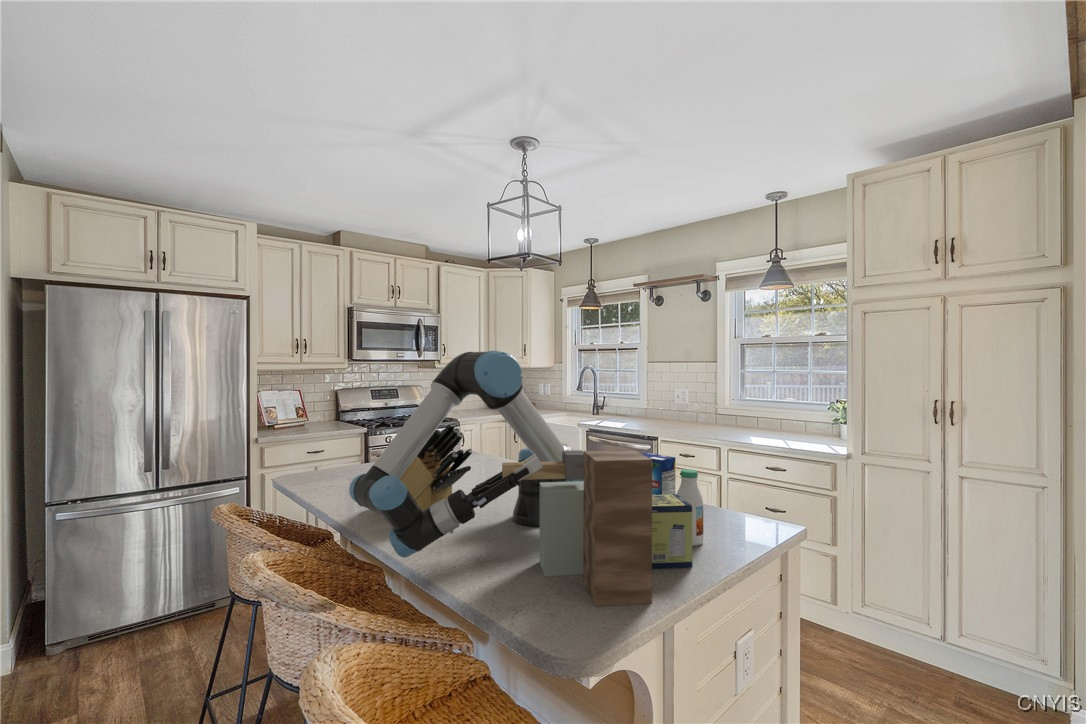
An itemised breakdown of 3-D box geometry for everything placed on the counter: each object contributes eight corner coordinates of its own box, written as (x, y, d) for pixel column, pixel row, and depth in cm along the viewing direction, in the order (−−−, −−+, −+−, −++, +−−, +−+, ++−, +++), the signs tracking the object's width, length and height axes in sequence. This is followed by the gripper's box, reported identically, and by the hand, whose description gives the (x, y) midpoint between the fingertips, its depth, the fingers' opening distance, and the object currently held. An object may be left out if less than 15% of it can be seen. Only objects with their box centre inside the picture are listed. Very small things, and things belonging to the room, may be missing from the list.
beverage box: (661, 536, 148) (661, 460, 148) (632, 526, 157) (632, 454, 157) (675, 531, 153) (675, 457, 153) (646, 522, 161) (646, 452, 161)
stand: (583, 581, 117) (583, 451, 117) (634, 579, 119) (634, 449, 119) (595, 606, 105) (596, 461, 105) (651, 603, 107) (652, 459, 107)
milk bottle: (688, 548, 139) (688, 474, 139) (669, 539, 145) (669, 469, 145) (709, 543, 142) (709, 471, 142) (689, 535, 149) (689, 466, 149)
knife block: (452, 527, 156) (453, 425, 156) (370, 510, 173) (370, 419, 173) (475, 517, 166) (475, 422, 166) (395, 502, 183) (395, 416, 183)
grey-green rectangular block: (539, 561, 129) (539, 482, 129) (589, 559, 131) (590, 481, 131) (544, 576, 120) (544, 491, 120) (598, 573, 122) (598, 489, 122)
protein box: (621, 554, 135) (621, 495, 135) (678, 552, 136) (678, 493, 136) (631, 570, 124) (631, 506, 124) (693, 568, 125) (693, 504, 125)
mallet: (501, 475, 126) (502, 451, 126) (581, 474, 129) (581, 450, 129) (503, 481, 120) (503, 455, 120) (586, 479, 123) (586, 454, 123)
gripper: (462, 514, 130) (541, 466, 133) (460, 536, 114) (551, 481, 116) (447, 489, 130) (527, 441, 132) (443, 507, 113) (535, 452, 116)
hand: (538, 460), depth 124 cm, fingers closed on mallet, 3 cm apart
